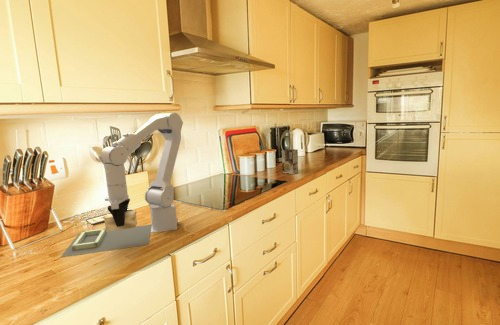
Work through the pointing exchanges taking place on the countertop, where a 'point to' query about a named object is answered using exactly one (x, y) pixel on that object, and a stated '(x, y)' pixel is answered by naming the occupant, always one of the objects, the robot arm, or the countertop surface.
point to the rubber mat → (114, 240)
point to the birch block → (129, 223)
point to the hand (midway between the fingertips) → (121, 223)
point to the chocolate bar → (98, 219)
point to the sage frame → (91, 244)
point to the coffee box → (290, 161)
